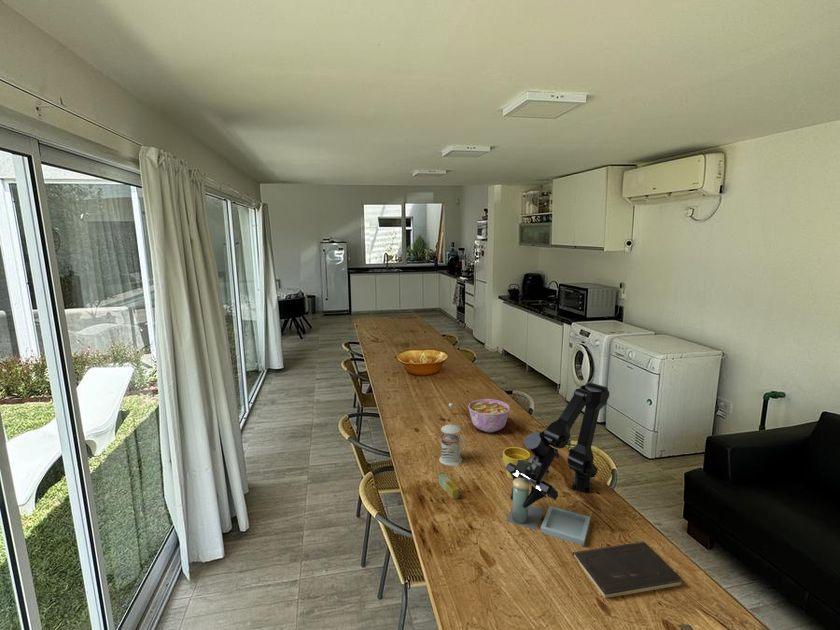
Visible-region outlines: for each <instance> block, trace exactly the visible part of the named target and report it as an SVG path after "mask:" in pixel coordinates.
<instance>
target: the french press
mask: <svg viewBox="0 0 840 630" xmlns="http://www.w3.org/2000/svg"><path fill="white" fill-rule="evenodd" d="M448 407H450V408H453V407H454V404H453V403H451V402H450V403H448ZM440 431H441V432H442V433H444V436H442V440H441V456H439V459H438V460H439V462H440V463H441V464H443V465H445V466H451V467H452V466H458V465H460V464H461V463H462V462H463V458H462V457H461V452H462V451H464V450H465V449H466V446H467V444H464V447H463V448H462V449H461V441H460V438H461V440H462V441H463V442H467V440H466V438H465V436H464V434H462V433H460V431H461V428H460V426H458V425H456V424H452V423H449V424H446V425H443V426H442V427H441V429H440ZM458 433H459V434H458ZM457 434H458V435H457ZM461 435H462V436H461ZM463 438H464V439H463Z"/></svg>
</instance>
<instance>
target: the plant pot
mask: <svg viewBox="0 0 840 630" xmlns="http://www.w3.org/2000/svg"><path fill="white" fill-rule="evenodd" d="M530 458H531V453H530V452H529V451H528V449H525V448H523V447H517V446H512V447H506V448H505V449H503V451H502V461H503V463H504V466H505V467H506V466H507V464H509V463H512V464H514V465H516V466H517V463H518V460H523V461H527V462H528V461H529V459H530ZM505 467H504V468H505ZM505 472H506V477H507V478H508V479H510V480H512V481H513V477H512V476H511V474H510V473H509V472H508V471H507V470H506V469H505Z"/></svg>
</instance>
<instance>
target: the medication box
mask: <svg viewBox="0 0 840 630" xmlns="http://www.w3.org/2000/svg"><path fill="white" fill-rule="evenodd" d="M437 480H438V481H437V482H438V484H439V485H440V487H441V488H442V489H443V490H444V491H445V493H447V494H448V495H449V497H451V498H452V500H456V499H459V498H460V488H459V487H458V486H457V485H456V484H455V483H454V482H453V481H452V480H451V479H450V478H449V477H448V475H447V474H446V473H444V472H441V473H438V474H437Z"/></svg>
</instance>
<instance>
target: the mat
mask: <svg viewBox="0 0 840 630" xmlns="http://www.w3.org/2000/svg"><path fill="white" fill-rule="evenodd" d="M512 511H513V507H511V510H510V512H509V513H508V515H507V517H506V519H505V521H506V522H509V523H511V524H514V525H518V526H522V527H525V528H528V529H531V530H533V531H534V530H535V531H537V529H538V528H539V527H538V526H539V524H540V522H541V519H542V516H543V514H544V511H545V509H544V508H540V507H536V506H532V505H529V506H528V521H527V523H525V524H518V523H516V522H514V521H513V519H512Z"/></svg>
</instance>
